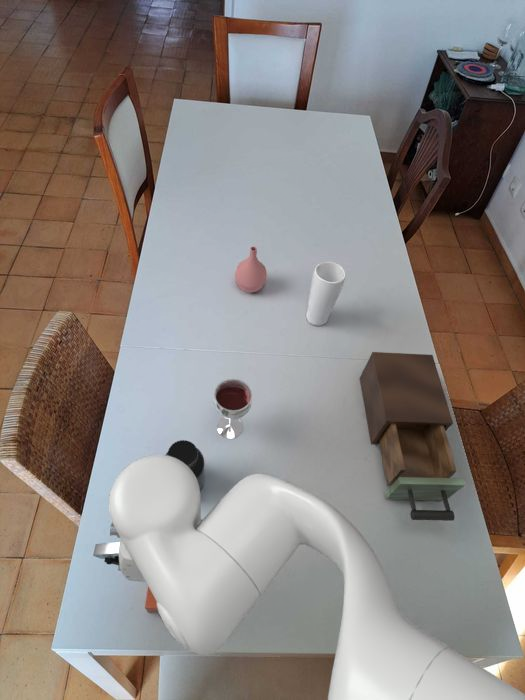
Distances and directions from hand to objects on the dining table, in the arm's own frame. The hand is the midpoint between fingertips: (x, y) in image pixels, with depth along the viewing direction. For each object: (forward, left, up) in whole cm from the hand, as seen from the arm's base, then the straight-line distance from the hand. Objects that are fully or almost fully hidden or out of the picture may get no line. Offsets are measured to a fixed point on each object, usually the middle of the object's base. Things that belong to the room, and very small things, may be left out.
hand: (172, 568), depth 60 cm
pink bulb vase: (+67, +9, -14) cm, 69 cm away
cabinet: (+44, -30, -14) cm, 55 cm away
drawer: (+31, -34, -13) cm, 47 cm away
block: (-2, +1, -14) cm, 14 cm away
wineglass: (+29, +1, -14) cm, 32 cm away
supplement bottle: (+16, +5, -14) cm, 22 cm away
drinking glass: (+63, -9, -14) cm, 65 cm away
